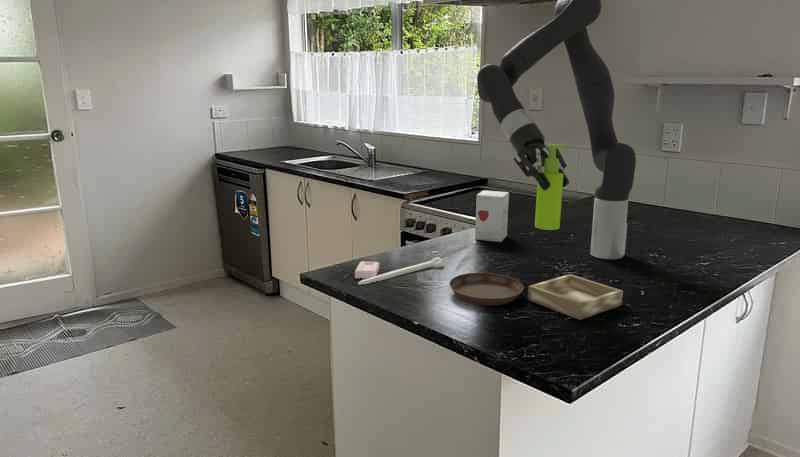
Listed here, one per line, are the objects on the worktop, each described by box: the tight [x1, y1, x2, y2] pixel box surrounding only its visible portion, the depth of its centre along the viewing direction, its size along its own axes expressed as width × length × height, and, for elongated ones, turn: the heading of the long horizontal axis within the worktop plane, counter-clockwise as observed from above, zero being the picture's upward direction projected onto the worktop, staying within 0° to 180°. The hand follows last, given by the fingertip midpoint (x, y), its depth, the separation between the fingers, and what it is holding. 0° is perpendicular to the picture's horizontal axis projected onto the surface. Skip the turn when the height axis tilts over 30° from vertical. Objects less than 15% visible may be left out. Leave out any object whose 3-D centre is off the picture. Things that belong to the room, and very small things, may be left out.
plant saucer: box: [448, 272, 524, 307], centre depth 144 cm, size 18×18×3 cm
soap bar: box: [354, 260, 380, 280], centre depth 161 cm, size 5×9×2 cm, turn 174°
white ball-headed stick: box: [357, 256, 444, 286], centre depth 159 cm, size 28×4×3 cm, turn 129°
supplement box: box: [474, 189, 510, 243], centre depth 195 cm, size 9×9×15 cm
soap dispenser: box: [534, 143, 571, 231], centre depth 143 cm, size 6×7×20 cm
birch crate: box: [527, 273, 624, 321], centre depth 139 cm, size 15×15×4 cm
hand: (556, 186), depth 141 cm, fingers closed on soap dispenser, 6 cm apart
